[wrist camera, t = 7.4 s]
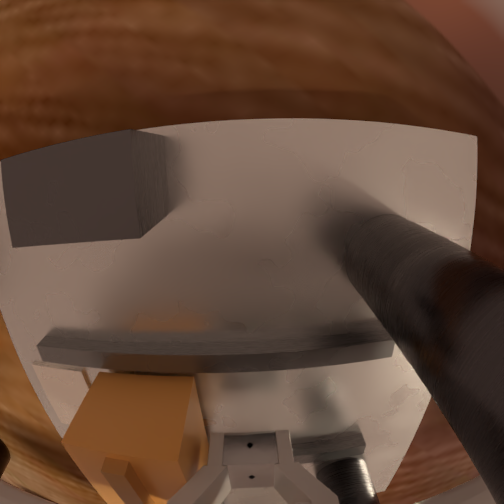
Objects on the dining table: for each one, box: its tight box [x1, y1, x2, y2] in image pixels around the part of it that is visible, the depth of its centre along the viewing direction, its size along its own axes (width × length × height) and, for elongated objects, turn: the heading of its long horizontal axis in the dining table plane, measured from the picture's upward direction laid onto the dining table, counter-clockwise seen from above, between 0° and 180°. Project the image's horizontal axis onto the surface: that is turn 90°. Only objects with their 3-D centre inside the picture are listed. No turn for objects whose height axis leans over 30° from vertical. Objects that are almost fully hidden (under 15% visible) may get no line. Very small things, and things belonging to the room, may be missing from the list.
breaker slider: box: [61, 372, 209, 504], centre depth 9 cm, size 4×5×5 cm
